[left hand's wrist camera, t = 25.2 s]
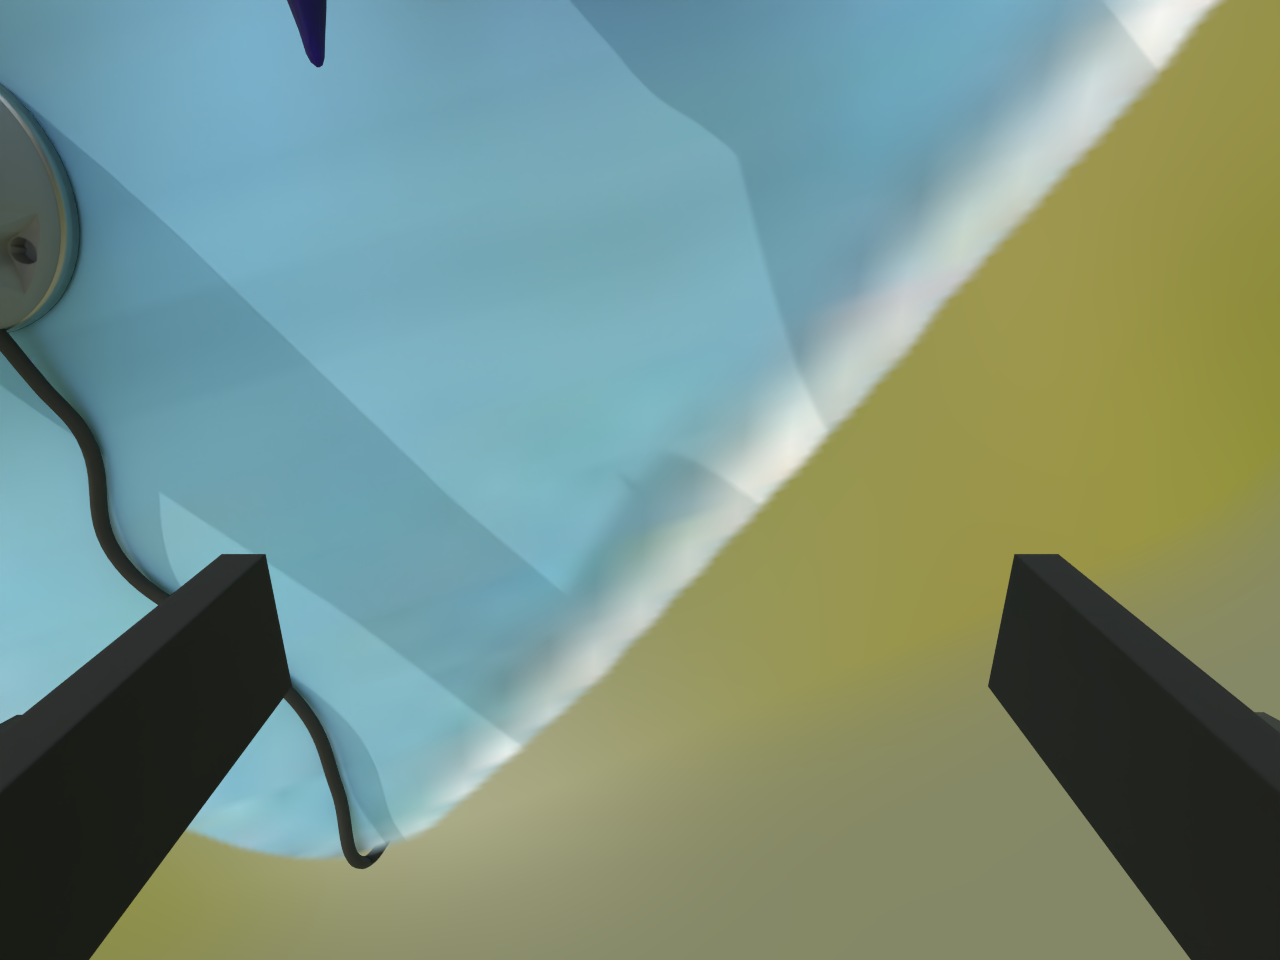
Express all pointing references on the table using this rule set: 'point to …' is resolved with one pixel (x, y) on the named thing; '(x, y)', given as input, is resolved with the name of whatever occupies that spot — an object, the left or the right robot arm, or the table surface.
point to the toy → (311, 27)
